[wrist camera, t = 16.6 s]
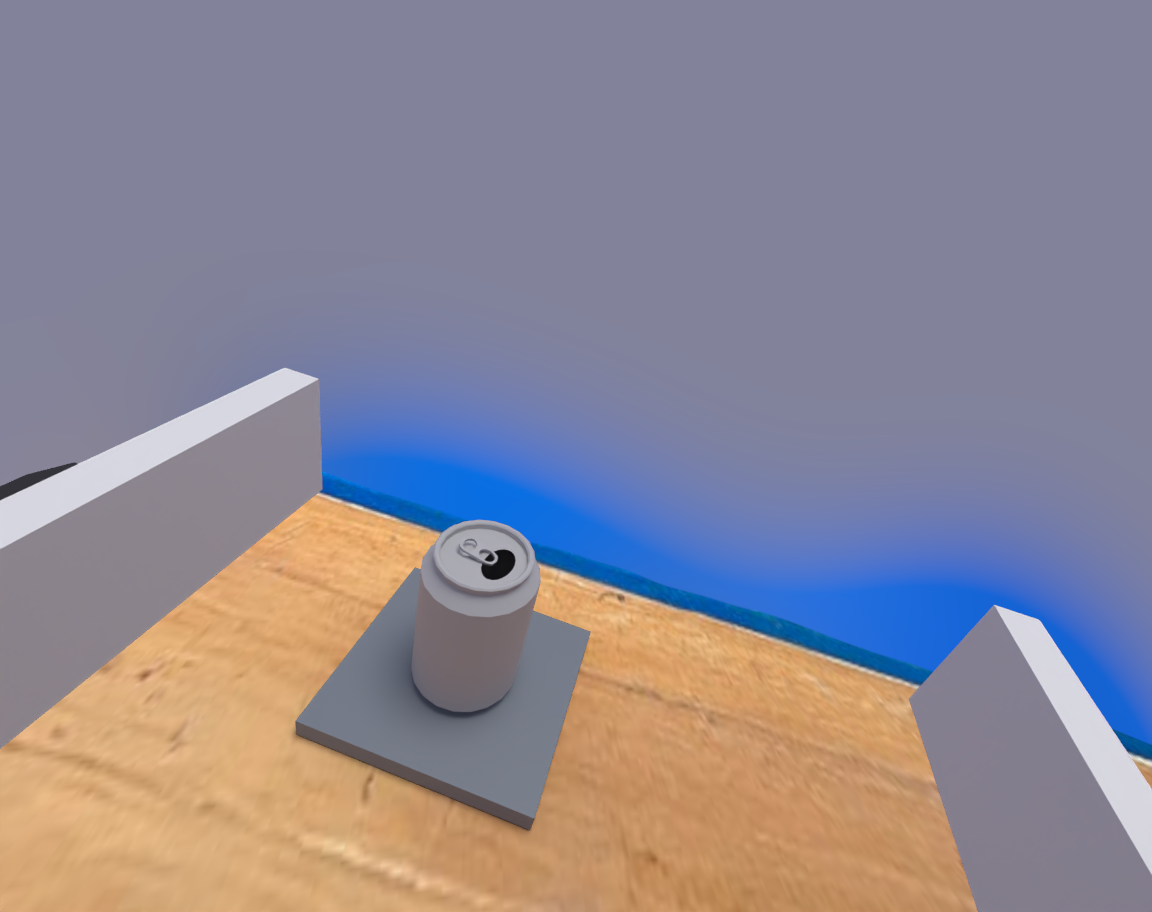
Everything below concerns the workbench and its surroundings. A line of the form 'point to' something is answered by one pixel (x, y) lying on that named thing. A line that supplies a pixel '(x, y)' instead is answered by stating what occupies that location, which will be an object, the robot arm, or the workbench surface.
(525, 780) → the slate board
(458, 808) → the workbench surface
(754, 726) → the workbench surface
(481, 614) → the can
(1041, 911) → the robot arm
